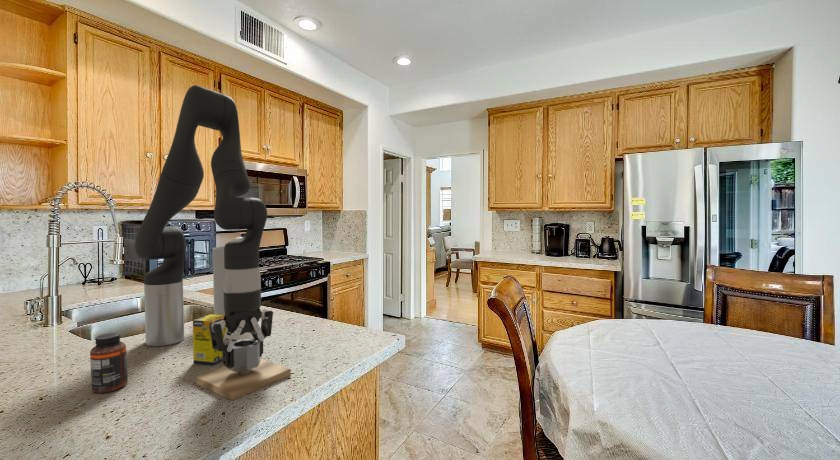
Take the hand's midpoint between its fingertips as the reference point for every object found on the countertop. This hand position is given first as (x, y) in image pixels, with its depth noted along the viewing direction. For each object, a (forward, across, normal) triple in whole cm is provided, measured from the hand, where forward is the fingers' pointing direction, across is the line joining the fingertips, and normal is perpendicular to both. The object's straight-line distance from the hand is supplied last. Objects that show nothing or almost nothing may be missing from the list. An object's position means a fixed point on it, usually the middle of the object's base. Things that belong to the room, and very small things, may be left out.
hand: (243, 361), depth 84 cm
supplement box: (+4, -2, -17) cm, 18 cm away
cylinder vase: (+4, -27, -49) cm, 56 cm away
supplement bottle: (+4, +18, -20) cm, 27 cm away
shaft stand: (+4, 0, 0) cm, 4 cm away
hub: (+1, 0, 0) cm, 1 cm away
